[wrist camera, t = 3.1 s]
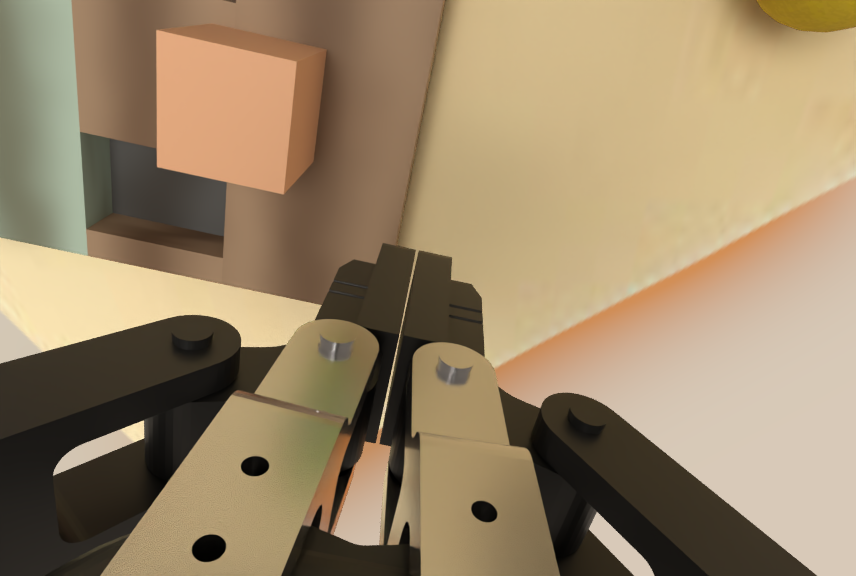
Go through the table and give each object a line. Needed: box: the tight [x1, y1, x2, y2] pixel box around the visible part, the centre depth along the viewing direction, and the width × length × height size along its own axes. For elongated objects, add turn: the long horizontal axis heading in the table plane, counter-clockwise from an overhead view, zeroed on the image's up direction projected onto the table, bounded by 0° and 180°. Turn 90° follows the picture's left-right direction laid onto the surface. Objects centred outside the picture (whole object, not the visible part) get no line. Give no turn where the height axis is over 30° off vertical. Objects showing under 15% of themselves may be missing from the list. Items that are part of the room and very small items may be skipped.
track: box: [0, 0, 446, 305], centre depth 26 cm, size 22×20×6 cm
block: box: [156, 23, 327, 194], centre depth 24 cm, size 5×5×5 cm
